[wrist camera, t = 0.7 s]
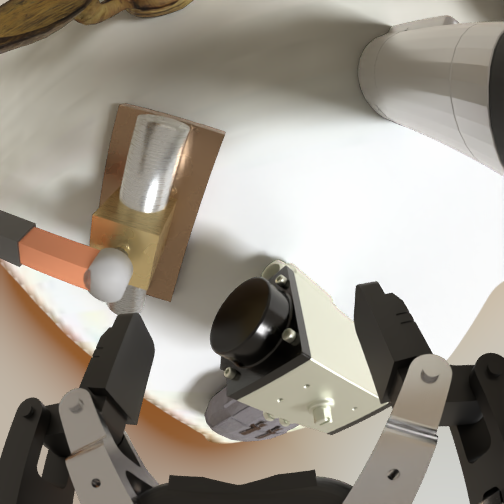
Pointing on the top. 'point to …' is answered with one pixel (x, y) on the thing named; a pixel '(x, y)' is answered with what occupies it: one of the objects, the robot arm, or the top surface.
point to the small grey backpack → (241, 420)
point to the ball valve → (293, 353)
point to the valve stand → (152, 197)
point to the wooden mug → (68, 16)
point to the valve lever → (65, 258)
